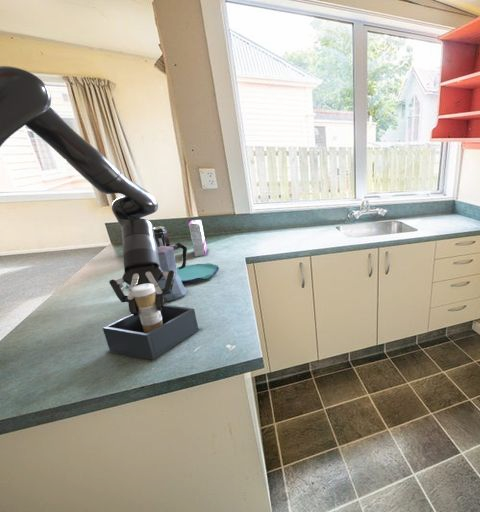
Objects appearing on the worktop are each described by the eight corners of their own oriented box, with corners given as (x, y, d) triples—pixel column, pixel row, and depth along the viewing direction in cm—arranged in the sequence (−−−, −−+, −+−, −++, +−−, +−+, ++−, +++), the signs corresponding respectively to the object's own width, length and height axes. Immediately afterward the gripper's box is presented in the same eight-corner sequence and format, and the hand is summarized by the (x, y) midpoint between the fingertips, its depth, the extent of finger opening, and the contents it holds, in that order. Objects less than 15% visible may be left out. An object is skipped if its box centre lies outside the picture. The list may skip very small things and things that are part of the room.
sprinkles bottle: (149, 328, 80) (136, 283, 76) (168, 326, 81) (156, 281, 77) (140, 338, 76) (126, 291, 72) (161, 335, 77) (148, 289, 73)
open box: (153, 359, 71) (146, 335, 69) (109, 351, 74) (102, 328, 72) (198, 329, 84) (194, 308, 82) (160, 323, 87) (154, 303, 85)
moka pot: (140, 301, 100) (124, 245, 94) (185, 285, 113) (174, 234, 107) (156, 307, 96) (141, 249, 90) (202, 290, 109) (191, 237, 103)
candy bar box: (196, 250, 156) (190, 220, 151) (207, 249, 158) (201, 219, 153) (194, 256, 146) (187, 224, 141) (205, 255, 148) (199, 223, 143)
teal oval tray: (215, 282, 116) (214, 276, 116) (122, 292, 107) (120, 286, 106) (223, 265, 134) (222, 261, 134) (144, 273, 125) (143, 268, 124)
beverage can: (167, 251, 155) (162, 228, 151) (152, 252, 153) (147, 229, 149) (173, 247, 161) (168, 226, 157) (158, 248, 159) (153, 226, 156)
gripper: (101, 251, 74) (105, 315, 68) (170, 243, 81) (179, 300, 76) (111, 265, 80) (116, 324, 74) (174, 256, 87) (183, 309, 81)
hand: (148, 311), depth 75 cm, fingers closed on sprinkles bottle, 4 cm apart
